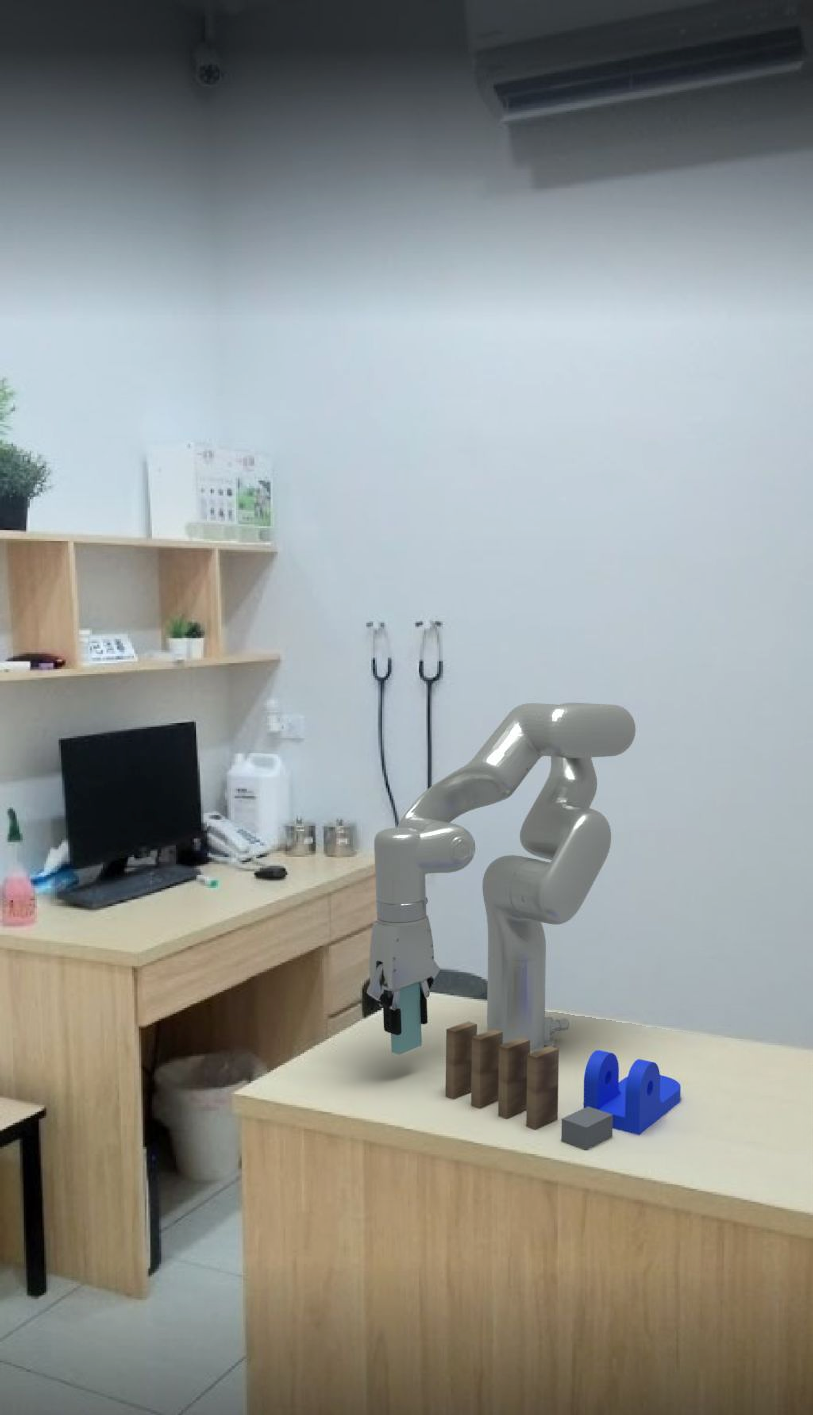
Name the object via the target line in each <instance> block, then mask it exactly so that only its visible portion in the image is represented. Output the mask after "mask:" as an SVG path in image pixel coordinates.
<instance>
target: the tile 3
mask: <svg viewBox="0 0 813 1415" xmlns="http://www.w3.org/2000/svg"><path fill="white" fill-rule="evenodd" d="M484 1032H485V1033H484ZM484 1032H482V1033H479V1034H477V1035H476V1036H473V1037H472V1070H471V1093H470V1106H471V1107H473V1108H475V1109H478V1110H481V1109H483V1108H485V1107H488V1106H490V1105H493V1104H496V1103H498V1082H499V1045H502V1044H503V1032H502V1031H499V1030H495V1029H493V1030H491V1031H488V1032H486V1031H484Z"/></svg>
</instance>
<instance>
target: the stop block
mask: <svg viewBox="0 0 813 1415" xmlns="http://www.w3.org/2000/svg"><path fill="white" fill-rule="evenodd" d="M613 1129H614V1128H613V1115H612V1114H609V1113H606V1112H603V1111H600V1110H597V1109H594V1108H591V1107H589V1106H588V1107H586V1108H584V1107H583V1108H581V1109H579V1110H577V1111H575V1112H573V1113H571V1114H569V1115H566V1116H565V1117H563V1118H561V1137H560V1138H561V1140H560V1141H561V1142H564V1143H566V1144H569V1145H571V1146H574V1147H576V1148H578V1149H579V1148H580V1149H582V1150H585V1151H588V1150H589V1149H591V1148H593V1147H595V1146H597V1145H600V1144H601V1143H603V1142H606V1140H609V1139H611V1138H613V1132H614V1130H613Z"/></svg>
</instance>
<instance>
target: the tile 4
mask: <svg viewBox="0 0 813 1415" xmlns="http://www.w3.org/2000/svg"><path fill="white" fill-rule="evenodd" d="M527 1054H530V1040H528V1039H525V1038H522V1037H521V1038H518V1039H516V1040H513V1041H510V1042H507V1043H505V1044H502V1045H499V1082H498V1102H497V1117H499V1118H502V1119H505V1120H508V1119H511V1118H514V1117H515V1116H517V1115H521V1114H522V1113H524V1112H527Z"/></svg>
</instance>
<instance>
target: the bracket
mask: <svg viewBox="0 0 813 1415" xmlns="http://www.w3.org/2000/svg"><path fill="white" fill-rule="evenodd" d="M619 1078H620V1066H619V1061H618V1058H617V1055H616V1054H615V1053H613V1052H610V1051H609V1052H608V1051H605V1050H600V1049H597V1050H595V1051H593V1052H592V1053H591V1055H590V1056H589V1058H588V1060H587V1063H586V1067H585V1070H584V1076H583V1109H584V1108H586V1107H588V1106H589V1107H591V1108H594V1109H597V1110H600V1111H603V1112H606V1113H609V1114H612V1115H613V1129H614V1130H618V1131H622V1132H626V1133H630V1134H634V1135H637V1136H640V1135H641V1134H642V1133H644V1132H645V1131H646V1130H647V1129H648V1128H650V1127H651V1126H653V1125H654V1124H655V1123H656V1122H657V1121H658V1120H659V1119H661V1118H662V1117H663V1116H664V1115H666V1114H667V1113H668V1112H669V1111H671V1110H672V1109H673V1108H674V1107H676V1106H677V1105H678V1104H679V1103H680V1102H681V1084H680V1082H679V1081H677V1080H676V1079H673V1078H671V1077H668V1076H665V1075H662V1074H661V1072H660V1068H659V1066H658V1064H657V1063H656V1062H654V1061H650V1060H645V1059H641V1058H640V1059H639V1058H638V1059H636V1060H635V1061H634V1062H633V1063H632V1064H631V1066H630V1069H629V1071H628V1074H627V1076H625V1077H623V1079H621V1080H620V1079H619Z"/></svg>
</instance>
